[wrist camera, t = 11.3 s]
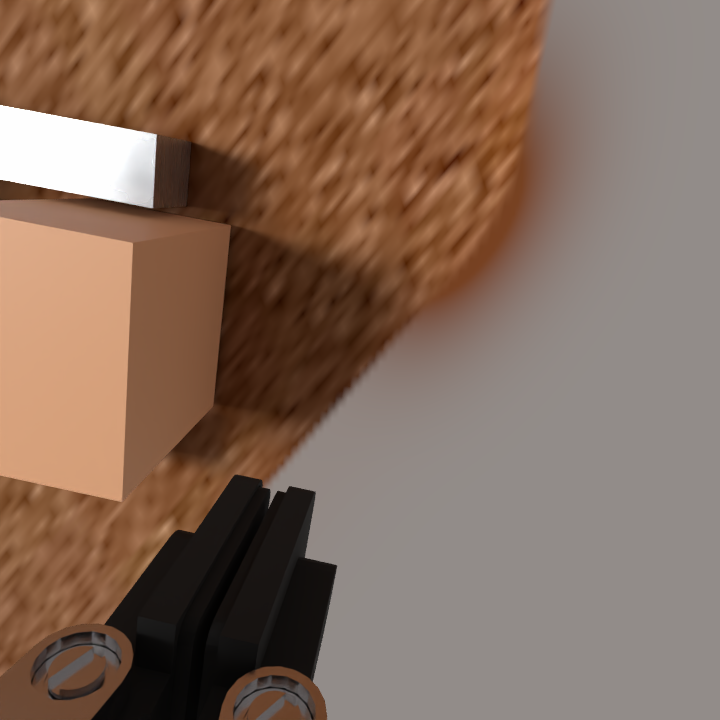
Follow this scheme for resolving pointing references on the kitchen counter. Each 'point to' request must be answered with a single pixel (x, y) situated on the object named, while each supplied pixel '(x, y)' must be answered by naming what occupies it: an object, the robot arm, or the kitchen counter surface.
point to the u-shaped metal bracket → (93, 159)
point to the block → (104, 339)
